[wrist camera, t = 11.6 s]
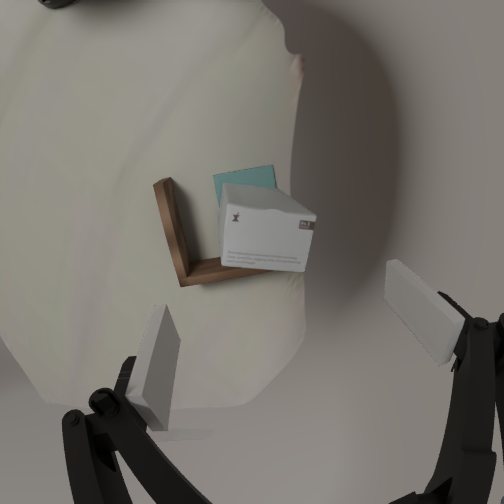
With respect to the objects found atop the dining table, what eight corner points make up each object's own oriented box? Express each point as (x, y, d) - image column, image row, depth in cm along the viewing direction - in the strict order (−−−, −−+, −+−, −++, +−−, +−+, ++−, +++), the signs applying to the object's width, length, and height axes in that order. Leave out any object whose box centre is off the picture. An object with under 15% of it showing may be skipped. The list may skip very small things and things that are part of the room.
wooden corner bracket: (162, 179, 35) (153, 184, 31) (278, 157, 36) (286, 159, 31) (185, 270, 41) (180, 287, 36) (290, 251, 41) (298, 265, 37)
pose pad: (213, 175, 36) (213, 175, 36) (272, 165, 36) (272, 165, 36) (226, 243, 40) (226, 244, 40) (281, 233, 40) (282, 234, 40)
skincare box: (218, 222, 38) (214, 269, 24) (223, 179, 36) (222, 202, 22) (277, 229, 39) (304, 277, 26) (284, 187, 37) (319, 215, 23)
